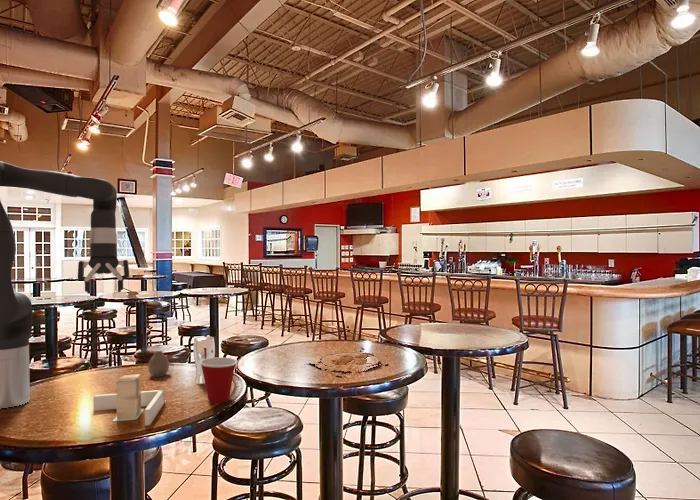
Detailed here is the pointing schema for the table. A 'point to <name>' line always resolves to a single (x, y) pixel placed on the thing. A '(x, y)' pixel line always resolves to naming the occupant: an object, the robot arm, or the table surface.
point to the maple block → (128, 396)
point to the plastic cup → (218, 378)
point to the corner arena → (148, 398)
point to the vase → (158, 364)
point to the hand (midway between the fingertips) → (104, 292)
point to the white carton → (202, 354)
